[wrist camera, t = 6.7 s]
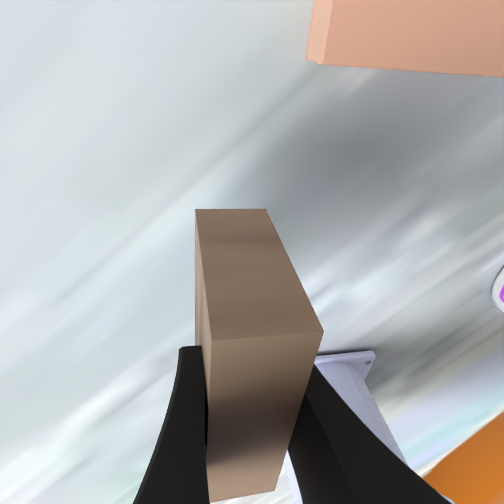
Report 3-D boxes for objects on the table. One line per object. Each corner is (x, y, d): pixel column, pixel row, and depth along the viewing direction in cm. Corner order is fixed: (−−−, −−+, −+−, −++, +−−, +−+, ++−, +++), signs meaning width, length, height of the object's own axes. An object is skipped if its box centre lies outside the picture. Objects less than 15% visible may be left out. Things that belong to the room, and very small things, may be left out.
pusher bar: (245, 358, 16) (274, 490, 12) (195, 363, 16) (204, 503, 11) (265, 208, 12) (323, 331, 7) (195, 209, 11) (211, 341, 7)
